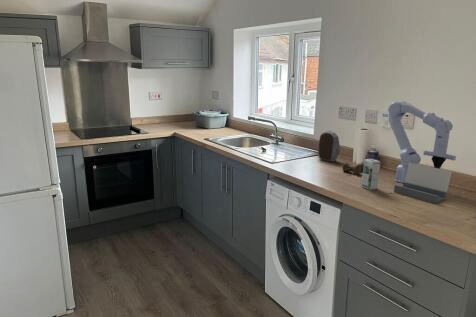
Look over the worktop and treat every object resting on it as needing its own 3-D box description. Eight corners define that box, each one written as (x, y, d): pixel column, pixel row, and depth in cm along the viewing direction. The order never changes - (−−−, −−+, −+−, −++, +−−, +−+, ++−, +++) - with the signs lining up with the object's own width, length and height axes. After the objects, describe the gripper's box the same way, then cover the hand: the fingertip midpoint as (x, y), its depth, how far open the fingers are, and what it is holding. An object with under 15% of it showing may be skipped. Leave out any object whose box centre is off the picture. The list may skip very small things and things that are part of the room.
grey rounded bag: (315, 159, 243) (317, 129, 238) (322, 157, 248) (325, 128, 244) (334, 163, 232) (336, 132, 227) (341, 161, 237) (344, 131, 233)
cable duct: (393, 191, 178) (394, 185, 178) (403, 188, 184) (404, 181, 184) (436, 203, 163) (437, 196, 162) (445, 199, 169) (446, 192, 169)
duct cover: (408, 162, 182) (409, 162, 183) (404, 181, 184) (405, 181, 184) (451, 171, 167) (452, 171, 168) (446, 192, 169) (447, 192, 169)
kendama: (371, 172, 215) (352, 176, 203) (357, 169, 223) (337, 173, 211) (372, 162, 214) (353, 166, 202) (358, 159, 222) (338, 163, 209)
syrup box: (360, 186, 186) (363, 159, 182) (369, 185, 188) (372, 158, 184) (368, 190, 180) (371, 161, 177) (377, 188, 183) (381, 160, 179)
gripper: (460, 146, 176) (455, 173, 179) (429, 141, 187) (425, 167, 190) (454, 148, 171) (449, 175, 174) (423, 143, 182) (419, 169, 185)
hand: (436, 171), depth 182 cm, fingers closed
